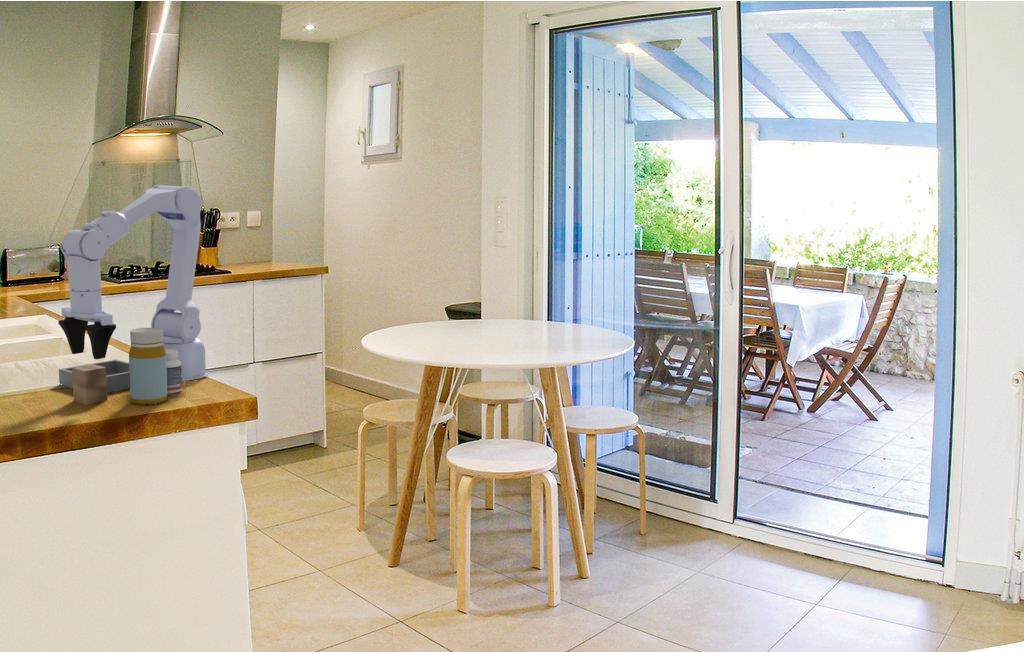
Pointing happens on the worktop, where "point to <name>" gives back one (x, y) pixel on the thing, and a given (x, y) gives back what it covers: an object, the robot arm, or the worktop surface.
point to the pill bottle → (173, 371)
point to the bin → (114, 375)
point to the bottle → (147, 366)
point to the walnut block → (89, 384)
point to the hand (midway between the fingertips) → (88, 355)
